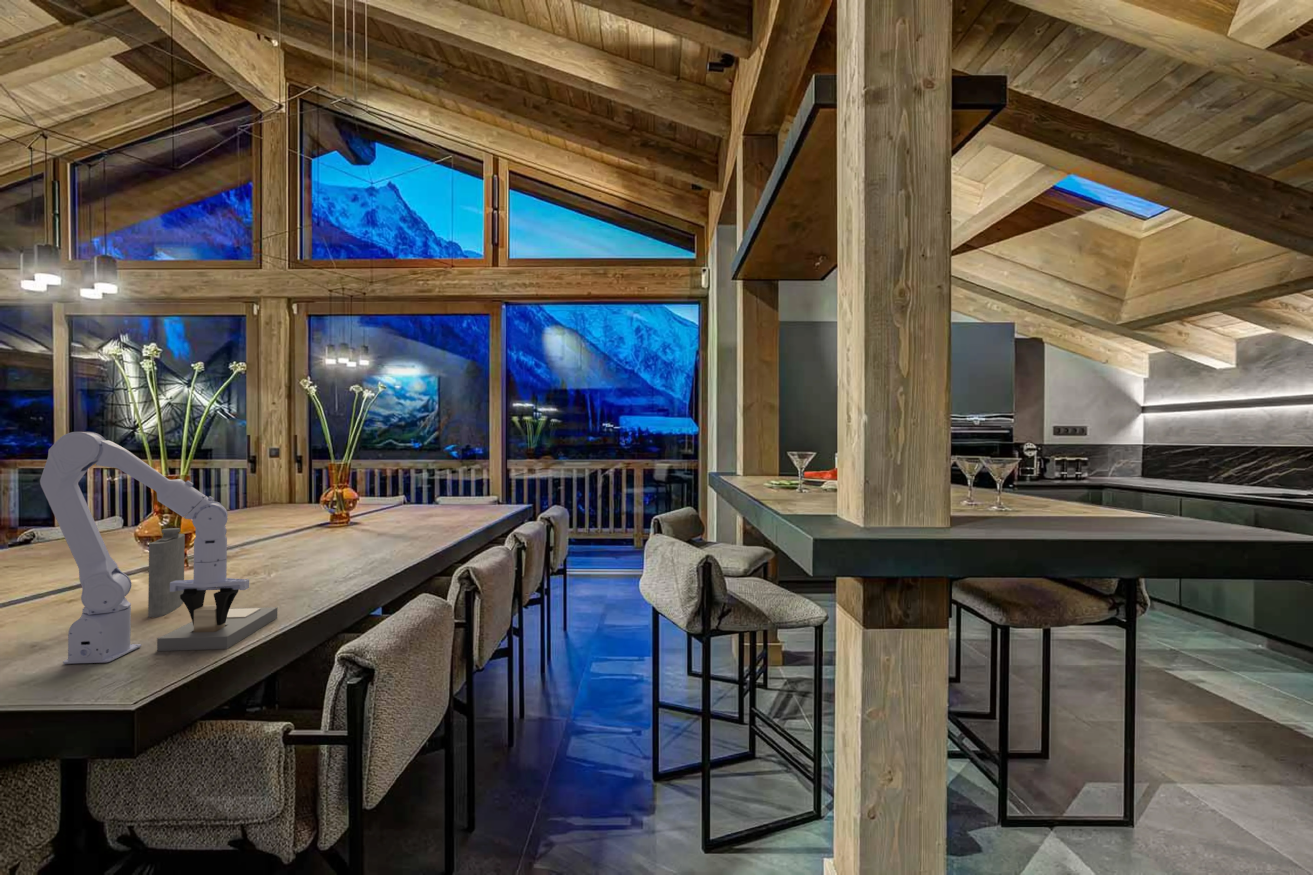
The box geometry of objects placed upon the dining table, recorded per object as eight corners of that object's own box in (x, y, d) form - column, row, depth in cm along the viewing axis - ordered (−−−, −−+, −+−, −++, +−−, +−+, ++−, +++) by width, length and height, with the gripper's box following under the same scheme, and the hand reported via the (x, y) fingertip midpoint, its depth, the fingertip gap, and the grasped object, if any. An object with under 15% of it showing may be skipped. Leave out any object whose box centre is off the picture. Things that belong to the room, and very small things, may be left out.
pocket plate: (227, 648, 127) (227, 635, 127) (157, 650, 126) (157, 637, 126) (277, 617, 149) (277, 606, 149) (218, 619, 147) (218, 607, 147)
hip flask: (171, 601, 163) (171, 524, 163) (189, 599, 164) (190, 523, 164) (145, 618, 148) (146, 533, 148) (166, 616, 149) (167, 532, 149)
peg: (214, 643, 131) (214, 609, 131) (193, 643, 130) (193, 610, 130) (224, 637, 135) (225, 604, 135) (204, 637, 134) (205, 605, 134)
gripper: (256, 555, 137) (255, 617, 137) (184, 556, 135) (183, 619, 135) (239, 562, 130) (239, 627, 130) (163, 563, 129) (162, 629, 129)
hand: (209, 624), depth 133 cm, fingers closed on peg, 4 cm apart
